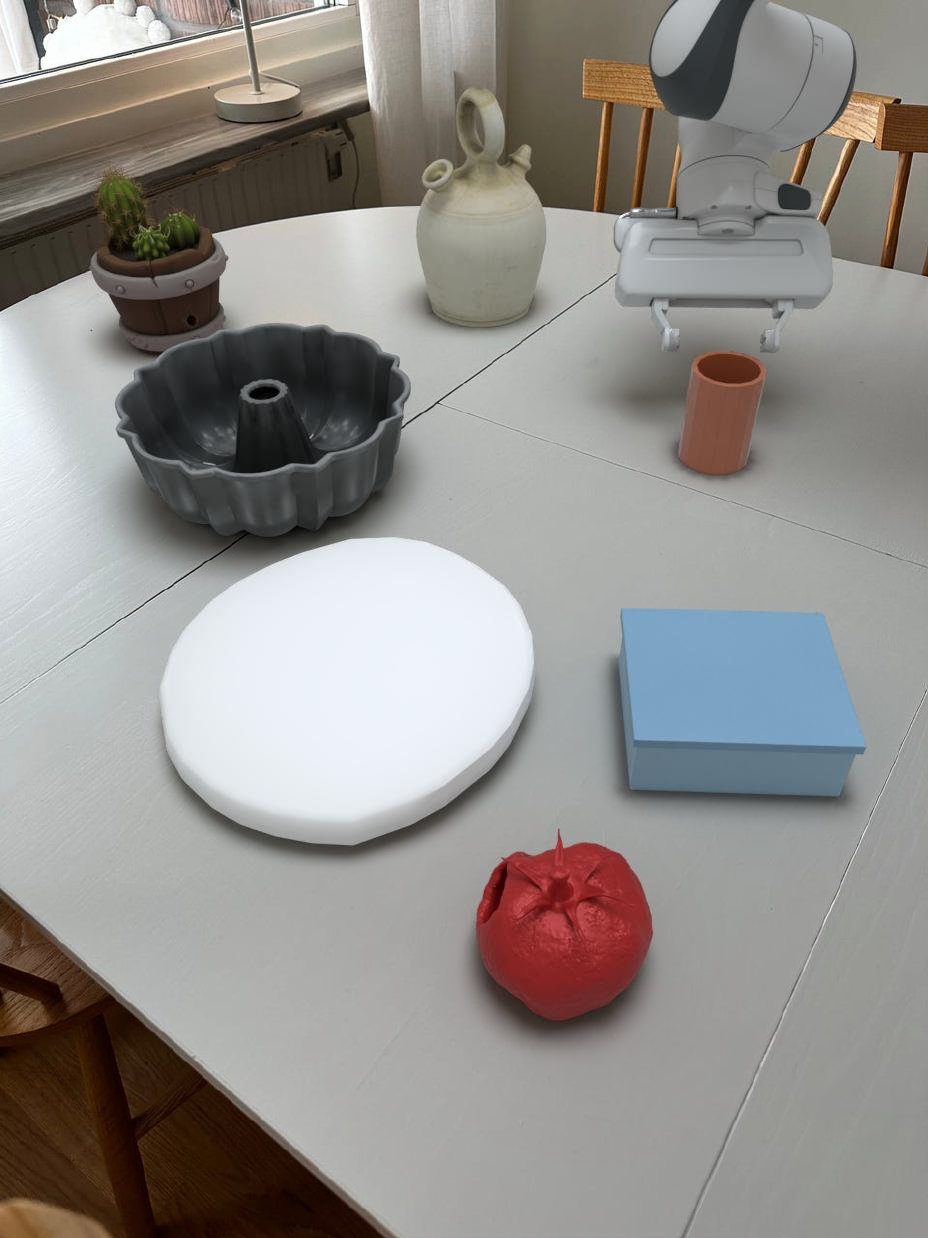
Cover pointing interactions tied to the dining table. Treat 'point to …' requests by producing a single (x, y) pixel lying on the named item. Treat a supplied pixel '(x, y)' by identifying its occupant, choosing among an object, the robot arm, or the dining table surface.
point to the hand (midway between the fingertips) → (720, 350)
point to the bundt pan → (266, 426)
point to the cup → (721, 412)
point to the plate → (347, 689)
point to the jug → (480, 225)
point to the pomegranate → (564, 928)
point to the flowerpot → (156, 269)
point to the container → (735, 703)
